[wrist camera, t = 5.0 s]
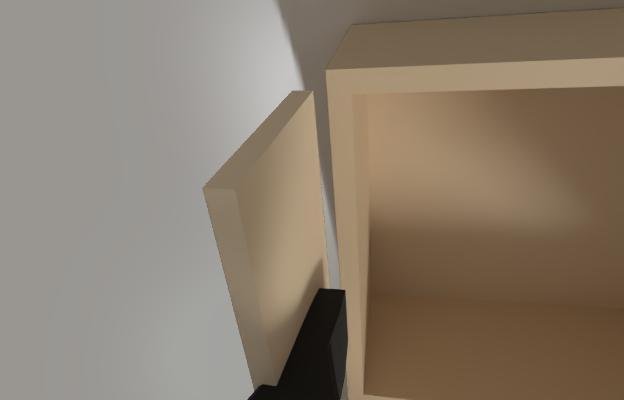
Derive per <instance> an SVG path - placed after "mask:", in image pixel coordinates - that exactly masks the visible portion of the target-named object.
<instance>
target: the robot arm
mask: <svg viewBox="0 0 624 400" xmlns="http://www.w3.org/2000/svg"><path fill="white" fill-rule="evenodd" d="M347 348H348V328H347V310H346V292H345V290H340V289H325V288H319V290H318V291H317V293H316V295H315V297H314V299H313V301H312V303H311V305H310V307H309V310H308V312H307V314H306V316H305V319H304V321H303V323H302V326H301V328H300V330H299V333H298V335H297V338H296V340H295V343H294V345H293V347H292V350H291V352H290V355H289V357H288V359H287V362H286V364H285V367H284V369H283V371H282V374H281V376H280V378H279V381H278V383H277V385H276V386H272V385H266V384H262V385H260V386H258V388H257V389H256V390H255V391H254V393H253V394H252V395H251V396H250V397H249V398H248V400H340V398H341V393H342V388H343V383H344V378H345V369H346V359H347Z"/></svg>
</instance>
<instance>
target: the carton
mask: <svg viewBox="0 0 624 400" xmlns="http://www.w3.org/2000/svg"><path fill="white" fill-rule="evenodd" d="M326 84H327V99H328V113H329V128H330V142H331V157H332V171H333V186H334V200H335V215H336V229H337V243H338V258H339V272H340V287H341V290H345V292H346V310H347V328H348V348H347V359H346V374H347V388H348V400H624V8H613V9H597V10H581V11H565V12H549V13H533V14H517V15H501V16H485V17H469V18H453V19H437V20H422V21H406V22H390V23H374V24H358V25H350V27H349V29H348V31H347V33H346V34H345V36H344V38H343V40H342V41H341V43H340V45H339V47H338V49H337V50H336V52H335V54H334V56H333V57H332V59H331V61H330V63H329V65H328V66H327V68H326Z"/></svg>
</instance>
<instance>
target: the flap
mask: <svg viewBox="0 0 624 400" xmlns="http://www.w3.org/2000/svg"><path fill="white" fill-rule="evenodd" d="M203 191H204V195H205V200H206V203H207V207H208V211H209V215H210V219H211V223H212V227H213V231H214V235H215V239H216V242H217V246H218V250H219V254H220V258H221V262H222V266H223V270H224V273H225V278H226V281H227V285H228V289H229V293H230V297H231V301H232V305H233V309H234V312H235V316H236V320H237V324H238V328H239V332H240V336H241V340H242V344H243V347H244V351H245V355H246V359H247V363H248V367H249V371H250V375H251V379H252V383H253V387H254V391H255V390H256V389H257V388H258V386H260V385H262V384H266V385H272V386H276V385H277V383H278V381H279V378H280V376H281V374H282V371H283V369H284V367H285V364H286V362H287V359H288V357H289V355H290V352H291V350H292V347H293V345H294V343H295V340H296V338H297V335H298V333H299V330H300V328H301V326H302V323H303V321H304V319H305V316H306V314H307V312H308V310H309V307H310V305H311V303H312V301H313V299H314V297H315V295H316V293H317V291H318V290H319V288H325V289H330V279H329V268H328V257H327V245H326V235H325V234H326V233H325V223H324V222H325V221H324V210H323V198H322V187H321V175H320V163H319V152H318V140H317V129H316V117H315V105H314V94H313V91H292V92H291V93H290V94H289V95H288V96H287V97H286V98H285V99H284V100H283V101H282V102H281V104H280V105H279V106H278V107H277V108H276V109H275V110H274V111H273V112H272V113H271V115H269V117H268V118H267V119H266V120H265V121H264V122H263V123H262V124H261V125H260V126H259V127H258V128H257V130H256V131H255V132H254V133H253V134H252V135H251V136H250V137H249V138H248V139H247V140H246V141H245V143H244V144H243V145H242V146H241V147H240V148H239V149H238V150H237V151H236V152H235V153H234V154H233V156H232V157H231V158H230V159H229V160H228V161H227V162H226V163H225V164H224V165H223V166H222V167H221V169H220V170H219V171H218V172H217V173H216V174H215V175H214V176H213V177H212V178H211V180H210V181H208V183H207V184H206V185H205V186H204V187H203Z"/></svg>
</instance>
